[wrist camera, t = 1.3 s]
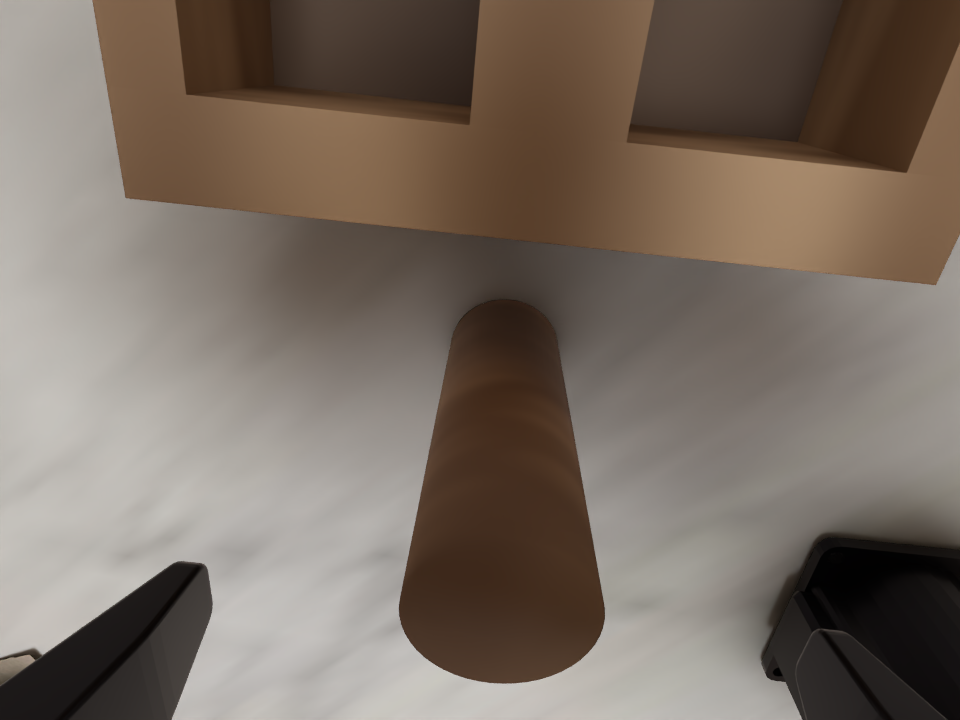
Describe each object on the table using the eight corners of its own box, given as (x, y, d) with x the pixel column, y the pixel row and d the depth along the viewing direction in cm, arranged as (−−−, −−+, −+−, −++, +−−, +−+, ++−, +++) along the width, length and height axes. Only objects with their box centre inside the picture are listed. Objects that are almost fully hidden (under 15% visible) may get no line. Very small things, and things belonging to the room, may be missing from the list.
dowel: (565, 305, 16) (624, 551, 8) (549, 401, 17) (584, 692, 9) (455, 293, 16) (403, 527, 8) (446, 390, 17) (395, 672, 9)
